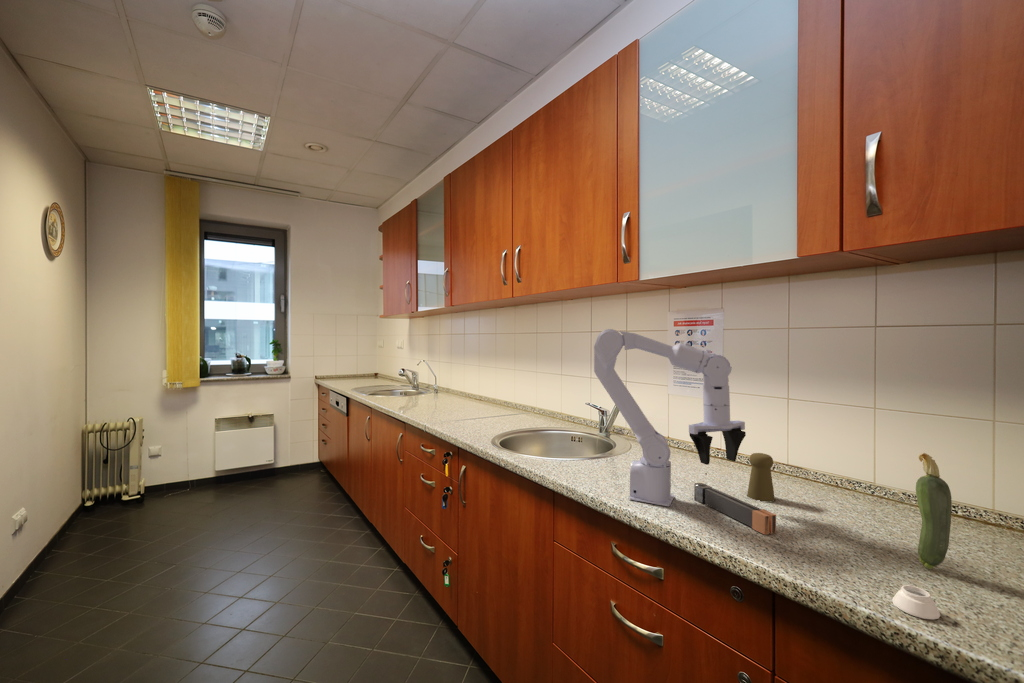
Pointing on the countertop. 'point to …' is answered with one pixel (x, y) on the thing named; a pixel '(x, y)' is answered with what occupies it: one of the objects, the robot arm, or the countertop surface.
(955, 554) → the countertop surface
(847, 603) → the countertop surface
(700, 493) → the tongs hub
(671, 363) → the robot arm
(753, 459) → the cork
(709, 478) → the countertop surface
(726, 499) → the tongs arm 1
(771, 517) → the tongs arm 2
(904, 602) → the upside-down white bowl
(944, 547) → the vegetable
